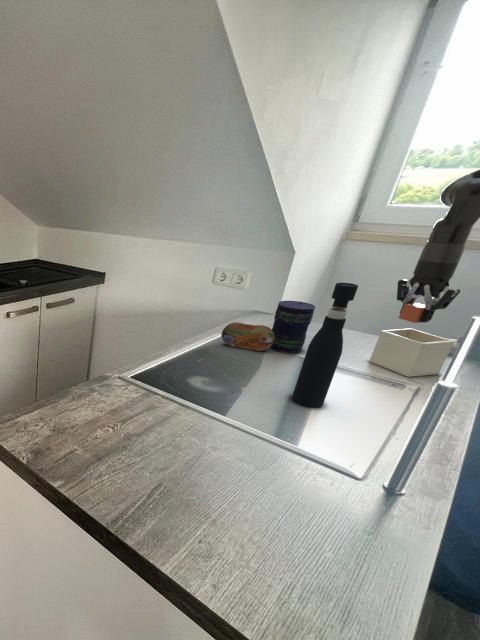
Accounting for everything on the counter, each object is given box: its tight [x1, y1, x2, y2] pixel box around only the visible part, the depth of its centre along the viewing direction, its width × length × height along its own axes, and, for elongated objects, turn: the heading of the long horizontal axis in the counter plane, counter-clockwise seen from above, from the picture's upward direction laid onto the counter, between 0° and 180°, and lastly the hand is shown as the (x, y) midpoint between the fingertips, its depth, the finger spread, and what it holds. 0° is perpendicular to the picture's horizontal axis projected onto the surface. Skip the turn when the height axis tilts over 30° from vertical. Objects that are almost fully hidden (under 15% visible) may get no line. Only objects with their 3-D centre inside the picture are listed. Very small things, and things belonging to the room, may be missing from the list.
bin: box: [368, 327, 455, 378], centre depth 112 cm, size 14×11×10 cm
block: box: [398, 302, 425, 324], centre depth 111 cm, size 4×4×4 cm
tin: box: [221, 321, 275, 352], centre depth 129 cm, size 15×3×8 cm, turn 55°
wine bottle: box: [291, 282, 359, 409], centre depth 92 cm, size 6×6×30 cm
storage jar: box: [269, 300, 316, 354], centre depth 127 cm, size 10×10×15 cm
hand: (413, 319), depth 112 cm, fingers closed on block, 4 cm apart
